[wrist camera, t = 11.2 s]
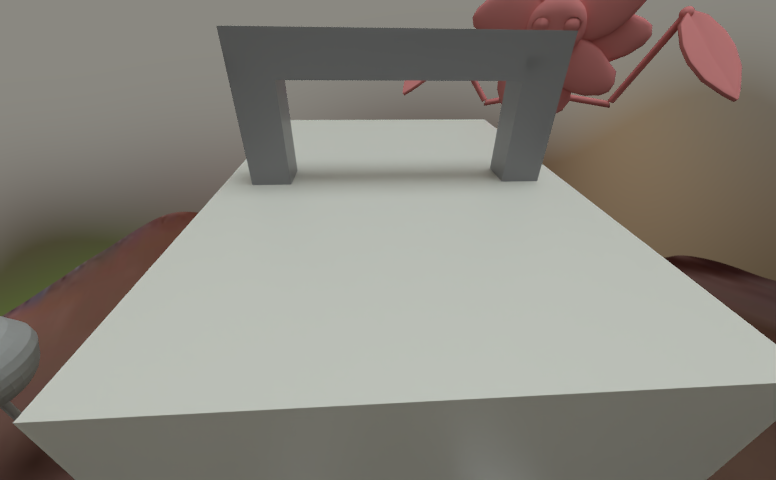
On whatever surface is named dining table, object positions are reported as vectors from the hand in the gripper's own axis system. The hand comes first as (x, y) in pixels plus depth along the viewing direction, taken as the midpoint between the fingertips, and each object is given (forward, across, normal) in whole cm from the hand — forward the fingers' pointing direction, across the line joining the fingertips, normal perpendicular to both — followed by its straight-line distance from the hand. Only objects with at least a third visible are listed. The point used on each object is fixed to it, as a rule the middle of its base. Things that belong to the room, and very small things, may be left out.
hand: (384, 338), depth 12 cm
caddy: (-3, 0, +9) cm, 9 cm away
